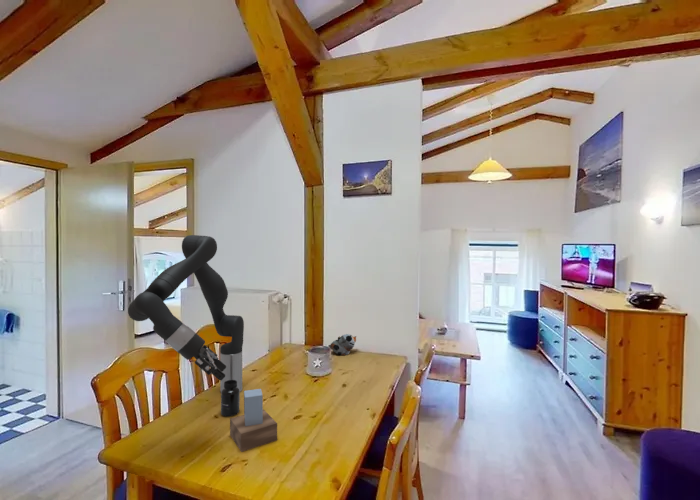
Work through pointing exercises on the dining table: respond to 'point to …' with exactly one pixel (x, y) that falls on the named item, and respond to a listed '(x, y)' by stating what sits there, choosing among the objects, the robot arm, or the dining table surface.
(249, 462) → the dining table surface
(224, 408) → the supplement bottle
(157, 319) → the robot arm
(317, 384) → the dining table surface
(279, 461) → the dining table surface
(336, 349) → the grey toy figure
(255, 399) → the blue-gray rectangular block
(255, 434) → the walnut box
